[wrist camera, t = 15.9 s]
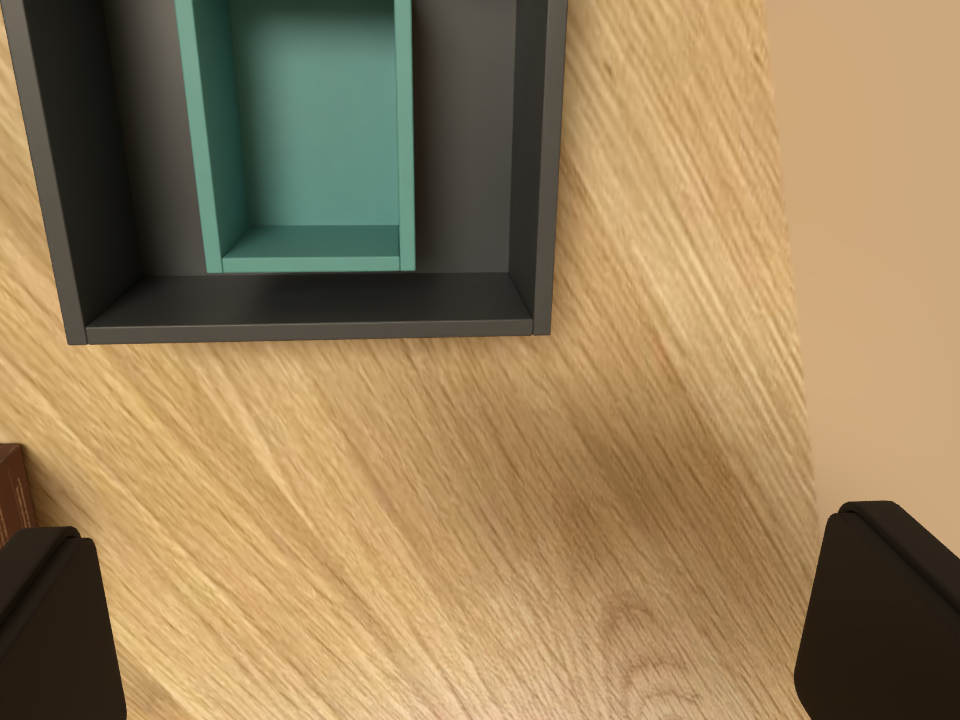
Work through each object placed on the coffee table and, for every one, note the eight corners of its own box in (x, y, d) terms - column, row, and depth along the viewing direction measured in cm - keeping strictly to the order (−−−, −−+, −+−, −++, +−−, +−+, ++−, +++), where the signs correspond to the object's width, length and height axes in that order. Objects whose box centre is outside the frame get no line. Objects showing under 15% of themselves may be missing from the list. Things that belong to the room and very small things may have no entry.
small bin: (407, -24, 26) (410, -46, 21) (412, 235, 29) (415, 271, 24) (213, -30, 25) (166, -54, 20) (240, 236, 28) (206, 273, 23)
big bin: (533, -87, 26) (575, -132, 20) (520, 282, 31) (550, 335, 25) (73, -104, 24) (-33, -159, 18) (134, 287, 29) (67, 345, 23)
